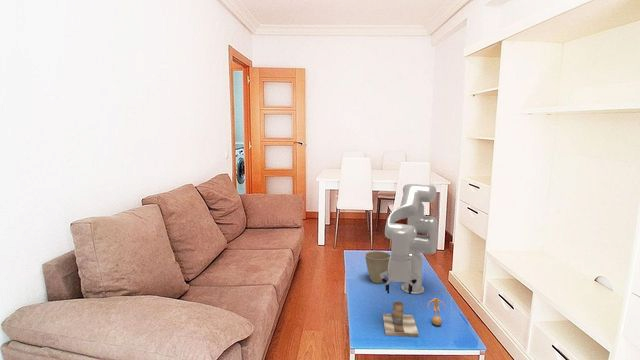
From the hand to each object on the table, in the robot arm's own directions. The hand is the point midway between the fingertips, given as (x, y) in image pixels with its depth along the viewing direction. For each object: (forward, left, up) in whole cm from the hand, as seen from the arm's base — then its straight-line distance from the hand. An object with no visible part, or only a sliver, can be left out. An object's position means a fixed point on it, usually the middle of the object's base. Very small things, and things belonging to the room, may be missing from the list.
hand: (398, 292), depth 162 cm
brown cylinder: (0, 0, -14) cm, 14 cm away
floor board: (+1, +1, -16) cm, 16 cm away
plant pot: (-49, -6, -16) cm, 52 cm away
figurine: (-3, +18, -16) cm, 24 cm away
